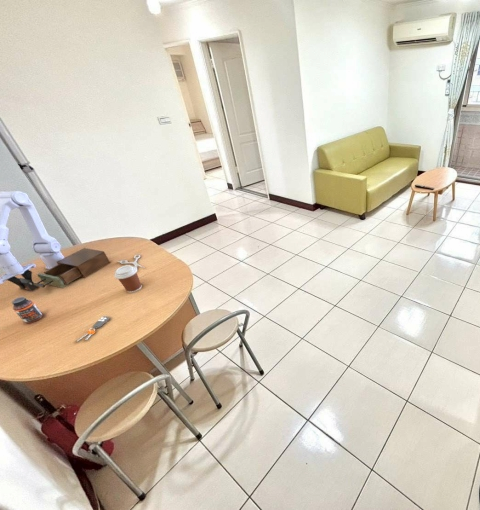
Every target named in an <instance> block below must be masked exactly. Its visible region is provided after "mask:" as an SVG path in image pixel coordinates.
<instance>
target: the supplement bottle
mask: <svg viewBox="0 0 480 510" xmlns="http://www.w3.org/2000/svg"><path fill="white" fill-rule="evenodd" d="M11 303H12V305H13V306H12V310H13V312H15V313H16V314H17V316H18V317H19V318H20V320H22V321H23V322H24V323H25V324H32V323H35V322H37V321H39V320H40V319H42V318H43V316H44V314H43V313H42V312H41V310H40V309H39V307H37V305H36V304H35V303H34V302H33V301H32V300H31V299H27V298H26V297H25V296H19V297H17V298H15V299H13V300H12V301H11Z"/></svg>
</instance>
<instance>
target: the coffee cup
mask: <svg viewBox="0 0 480 510" xmlns="http://www.w3.org/2000/svg"><path fill="white" fill-rule="evenodd" d="M137 272H138V268H137V269H136V268H135V266H133V265H132V264H131V265H130V264H128V265H127V264H126V265H122V266H119V267H118V268H117V269H116V270H115V272H114V278H115V279H117V280H118V281H119V282H120V284H121V286H123V287H124V289H125V290H126V292H127V293H135V292H137V291H139V290H141V289H142V287H143V285H142V283H141V280H140V277H139V275H138V273H137Z"/></svg>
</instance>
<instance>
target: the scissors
mask: <svg viewBox="0 0 480 510" xmlns="http://www.w3.org/2000/svg"><path fill="white" fill-rule="evenodd" d="M140 258H141V255H140V254H135V255H134V256H133V259H134V261H129V262H128V259H123V260H117V263H120V264H121V265H125V264H126V265H127V264H128V265H130V264H131V265H134V266H133V267H135V268H136V269H137V270H138V267H140V268H144V266H143V265H141V264H139V263H138V260H139V259H140Z"/></svg>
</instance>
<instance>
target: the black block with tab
mask: <svg viewBox="0 0 480 510" xmlns="http://www.w3.org/2000/svg"><path fill="white" fill-rule="evenodd" d="M18 278H19V279H20V281H21V282H22V284H23V285H24V286H25V287H26V288H25V289H23V288H21V287H19V288H20V289H21V290H26V291H30V292H33V291H35V290H37V289H39V288H38V287H39V286H35V285H34V283H35V282H34V281H33V279H32V280H29V279H25V278H24V277H18Z"/></svg>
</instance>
